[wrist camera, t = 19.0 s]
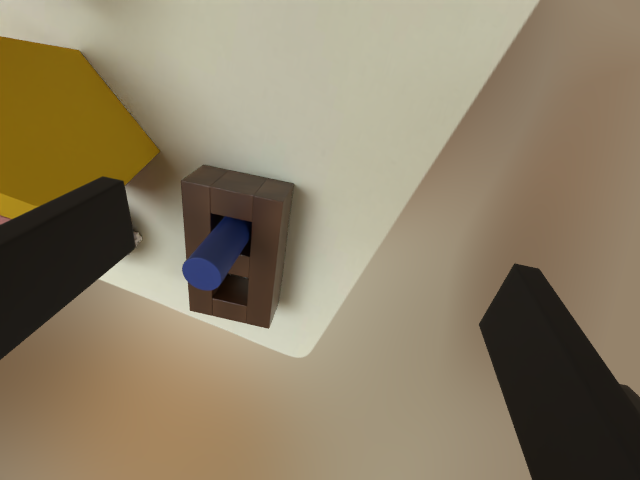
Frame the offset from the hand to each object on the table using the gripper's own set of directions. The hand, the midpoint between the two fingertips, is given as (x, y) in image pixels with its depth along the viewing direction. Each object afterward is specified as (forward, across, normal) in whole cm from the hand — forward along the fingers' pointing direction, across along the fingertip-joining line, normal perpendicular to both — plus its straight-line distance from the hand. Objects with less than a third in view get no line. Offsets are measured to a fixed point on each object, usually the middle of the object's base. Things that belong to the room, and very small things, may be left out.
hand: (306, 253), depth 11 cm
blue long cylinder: (+24, -10, -13) cm, 29 cm away
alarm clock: (+24, -27, -6) cm, 37 cm away
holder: (+24, -10, -17) cm, 31 cm away
